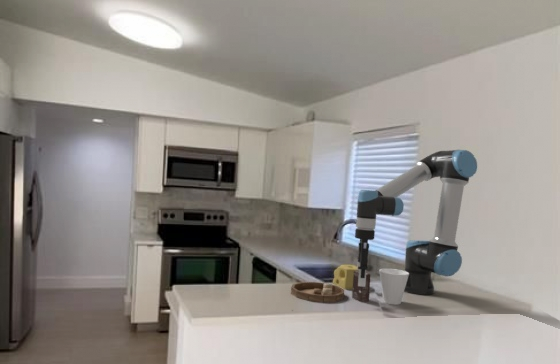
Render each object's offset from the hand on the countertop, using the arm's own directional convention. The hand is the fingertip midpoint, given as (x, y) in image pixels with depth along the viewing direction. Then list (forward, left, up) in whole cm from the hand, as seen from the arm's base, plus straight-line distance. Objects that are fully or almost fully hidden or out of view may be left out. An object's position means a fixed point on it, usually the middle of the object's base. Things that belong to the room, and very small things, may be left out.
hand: (360, 282), depth 169 cm
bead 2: (+13, +3, -7) cm, 15 cm away
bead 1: (+13, -5, -7) cm, 15 cm away
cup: (-13, -6, -8) cm, 17 cm away
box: (0, 0, -8) cm, 8 cm away
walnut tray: (+17, -1, -8) cm, 19 cm away
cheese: (+4, -21, -8) cm, 23 cm away
